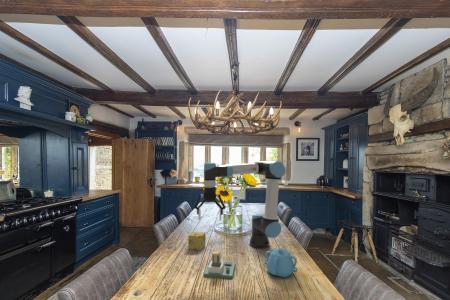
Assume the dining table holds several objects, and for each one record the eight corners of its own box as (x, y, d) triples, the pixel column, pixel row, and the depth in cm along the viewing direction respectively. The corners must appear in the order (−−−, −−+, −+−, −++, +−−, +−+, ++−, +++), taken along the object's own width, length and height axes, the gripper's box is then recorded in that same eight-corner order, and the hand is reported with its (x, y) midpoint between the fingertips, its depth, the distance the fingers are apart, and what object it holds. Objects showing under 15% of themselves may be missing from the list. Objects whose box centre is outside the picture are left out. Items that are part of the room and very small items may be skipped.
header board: (235, 264, 153) (235, 257, 153) (232, 278, 135) (232, 270, 135) (210, 262, 155) (210, 255, 155) (203, 276, 137) (203, 268, 137)
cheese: (201, 250, 175) (201, 236, 175) (187, 249, 177) (187, 235, 177) (205, 245, 185) (205, 232, 185) (192, 244, 187) (192, 231, 187)
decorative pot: (299, 279, 135) (299, 254, 135) (271, 280, 133) (271, 255, 133) (288, 266, 151) (289, 244, 151) (263, 267, 149) (263, 244, 150)
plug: (220, 267, 144) (220, 250, 145) (218, 272, 139) (219, 254, 139) (213, 267, 145) (213, 250, 145) (211, 271, 139) (211, 253, 140)
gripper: (229, 186, 161) (229, 218, 160) (192, 185, 163) (192, 217, 163) (228, 187, 153) (228, 221, 153) (189, 187, 156) (189, 220, 155)
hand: (209, 219), depth 158 cm, fingers open, 13 cm apart
